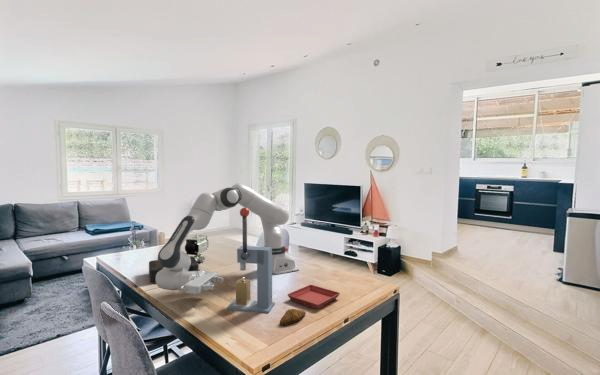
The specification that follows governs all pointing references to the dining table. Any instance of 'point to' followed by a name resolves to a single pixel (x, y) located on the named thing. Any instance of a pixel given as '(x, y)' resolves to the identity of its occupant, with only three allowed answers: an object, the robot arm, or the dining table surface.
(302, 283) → the dining table surface
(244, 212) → the lever
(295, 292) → the plant saucer
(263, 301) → the press
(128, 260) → the dining table surface
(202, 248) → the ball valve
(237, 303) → the block
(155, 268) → the cash box
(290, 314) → the croissant
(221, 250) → the dining table surface
